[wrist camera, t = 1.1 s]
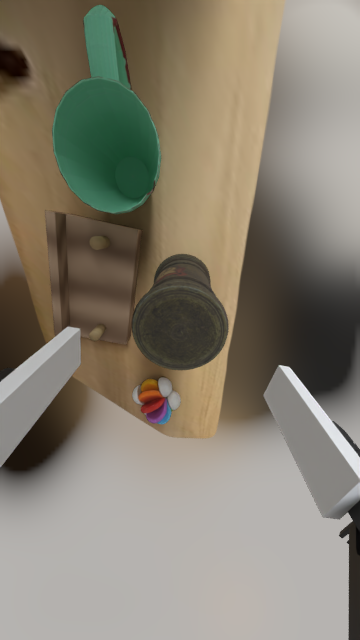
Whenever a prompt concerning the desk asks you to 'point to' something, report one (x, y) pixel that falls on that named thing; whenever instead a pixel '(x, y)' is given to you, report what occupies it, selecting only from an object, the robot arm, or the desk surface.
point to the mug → (106, 127)
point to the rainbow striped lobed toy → (157, 399)
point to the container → (180, 316)
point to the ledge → (92, 275)
